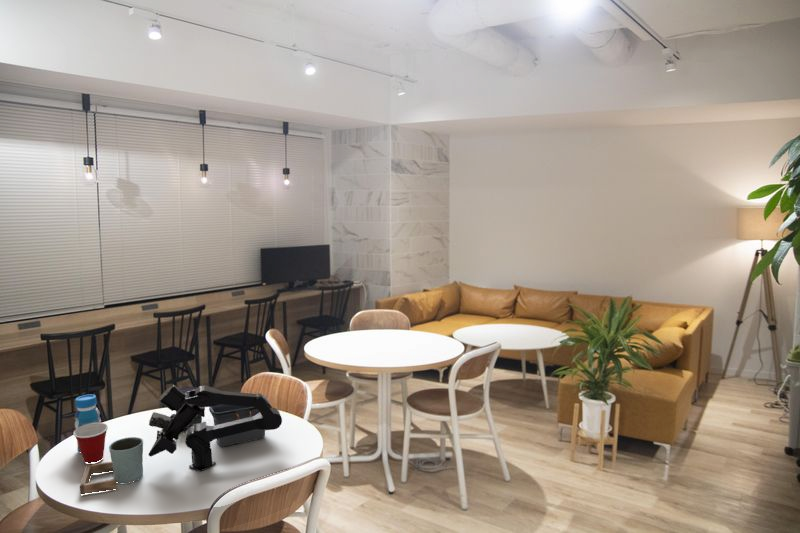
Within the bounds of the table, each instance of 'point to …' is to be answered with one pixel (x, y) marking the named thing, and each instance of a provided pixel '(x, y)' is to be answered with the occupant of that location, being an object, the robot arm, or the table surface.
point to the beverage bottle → (86, 411)
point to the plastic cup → (91, 441)
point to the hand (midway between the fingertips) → (149, 455)
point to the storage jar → (198, 418)
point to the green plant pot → (127, 459)
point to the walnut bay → (100, 485)
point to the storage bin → (232, 414)
